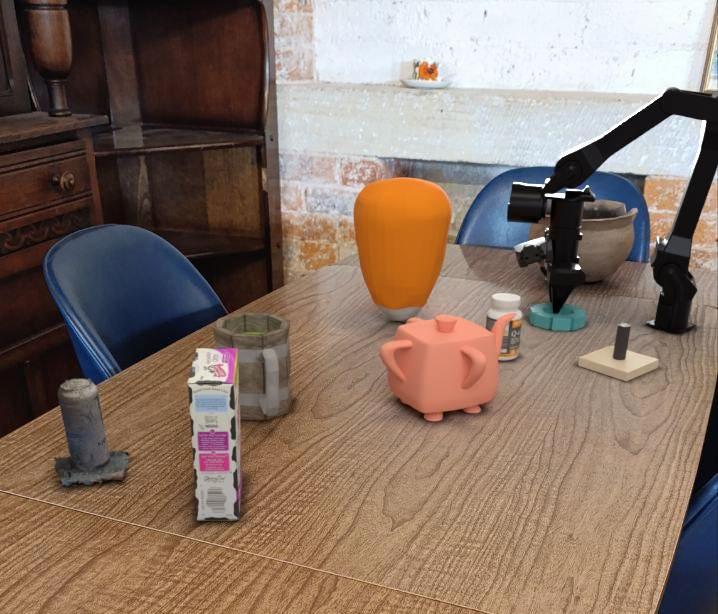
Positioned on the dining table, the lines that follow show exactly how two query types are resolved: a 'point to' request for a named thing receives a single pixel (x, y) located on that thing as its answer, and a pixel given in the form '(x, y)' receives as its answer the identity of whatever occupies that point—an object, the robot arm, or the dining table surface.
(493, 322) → the pill bottle
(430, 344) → the teapot
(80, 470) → the grey upright cylinder
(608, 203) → the ceramic bowl
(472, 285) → the dining table surface
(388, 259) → the orange egg-shaped ornament
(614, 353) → the peg stand
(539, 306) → the ring
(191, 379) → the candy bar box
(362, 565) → the dining table surface
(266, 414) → the mug
